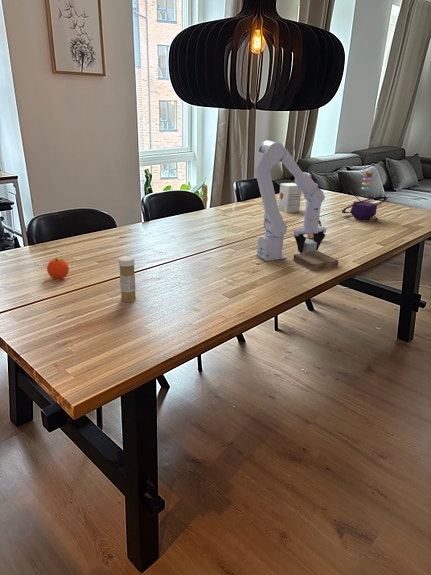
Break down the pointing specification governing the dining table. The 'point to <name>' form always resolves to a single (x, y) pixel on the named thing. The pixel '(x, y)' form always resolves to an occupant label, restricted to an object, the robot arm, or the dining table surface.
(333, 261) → the walnut block
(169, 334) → the dining table surface
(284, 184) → the supplement box
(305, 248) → the grey block
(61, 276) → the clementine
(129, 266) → the sprinkles bottle
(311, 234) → the grandmother figurine
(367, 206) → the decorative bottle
